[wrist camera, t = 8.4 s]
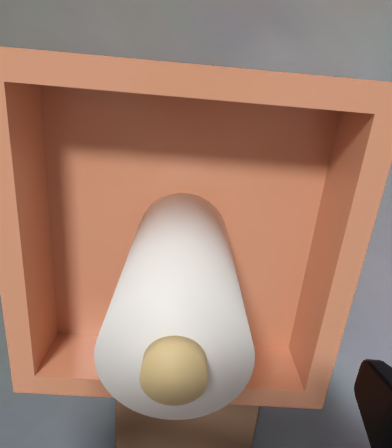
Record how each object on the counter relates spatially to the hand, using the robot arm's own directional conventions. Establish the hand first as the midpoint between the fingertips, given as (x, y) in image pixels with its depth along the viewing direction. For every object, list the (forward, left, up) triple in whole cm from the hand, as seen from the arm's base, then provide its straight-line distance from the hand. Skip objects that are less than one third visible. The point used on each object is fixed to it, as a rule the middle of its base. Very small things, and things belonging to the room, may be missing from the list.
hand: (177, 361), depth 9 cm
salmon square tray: (0, 0, -9) cm, 9 cm away
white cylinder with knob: (0, 0, -8) cm, 8 cm away
